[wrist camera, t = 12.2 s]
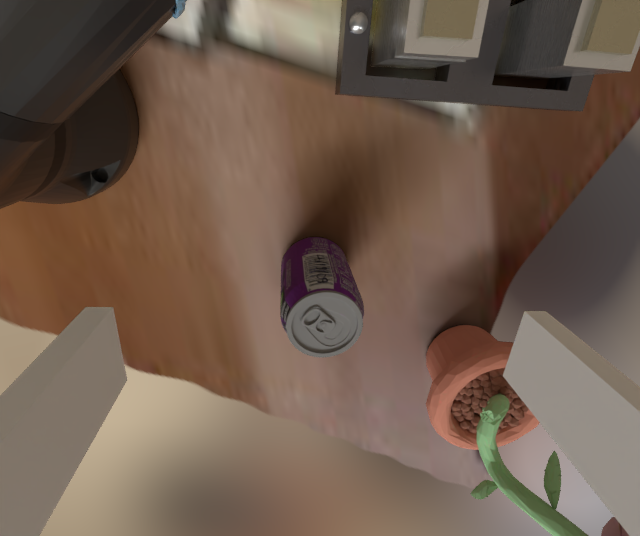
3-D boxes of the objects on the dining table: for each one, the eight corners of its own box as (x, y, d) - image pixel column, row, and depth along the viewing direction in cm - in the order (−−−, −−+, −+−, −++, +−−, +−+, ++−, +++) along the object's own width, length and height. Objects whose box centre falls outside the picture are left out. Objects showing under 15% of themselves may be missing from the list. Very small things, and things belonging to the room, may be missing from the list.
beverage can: (268, 271, 40) (262, 334, 29) (308, 221, 38) (318, 269, 27) (318, 304, 42) (330, 375, 31) (359, 259, 40) (386, 318, 29)
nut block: (370, 67, 33) (405, 53, 23) (376, -4, 30) (418, -52, 21) (425, 70, 33) (482, 58, 24) (435, 1, 31) (503, -44, 21)
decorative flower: (481, 403, 51) (706, 747, 24) (388, 392, 49) (519, 760, 22) (528, 312, 45) (895, 629, 18) (425, 295, 43) (668, 629, 16)
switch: (335, 94, 33) (355, 91, 24) (345, -45, 29) (375, -116, 20) (559, 110, 36) (661, 113, 26) (597, -16, 31) (735, -68, 22)
